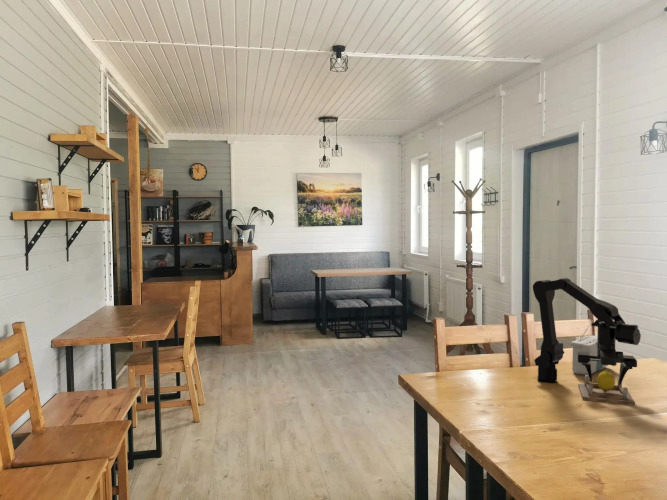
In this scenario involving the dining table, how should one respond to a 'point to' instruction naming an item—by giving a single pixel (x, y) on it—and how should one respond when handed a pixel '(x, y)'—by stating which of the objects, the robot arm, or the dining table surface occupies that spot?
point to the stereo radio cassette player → (588, 346)
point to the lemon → (606, 381)
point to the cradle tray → (605, 393)
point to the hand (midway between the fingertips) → (605, 382)
